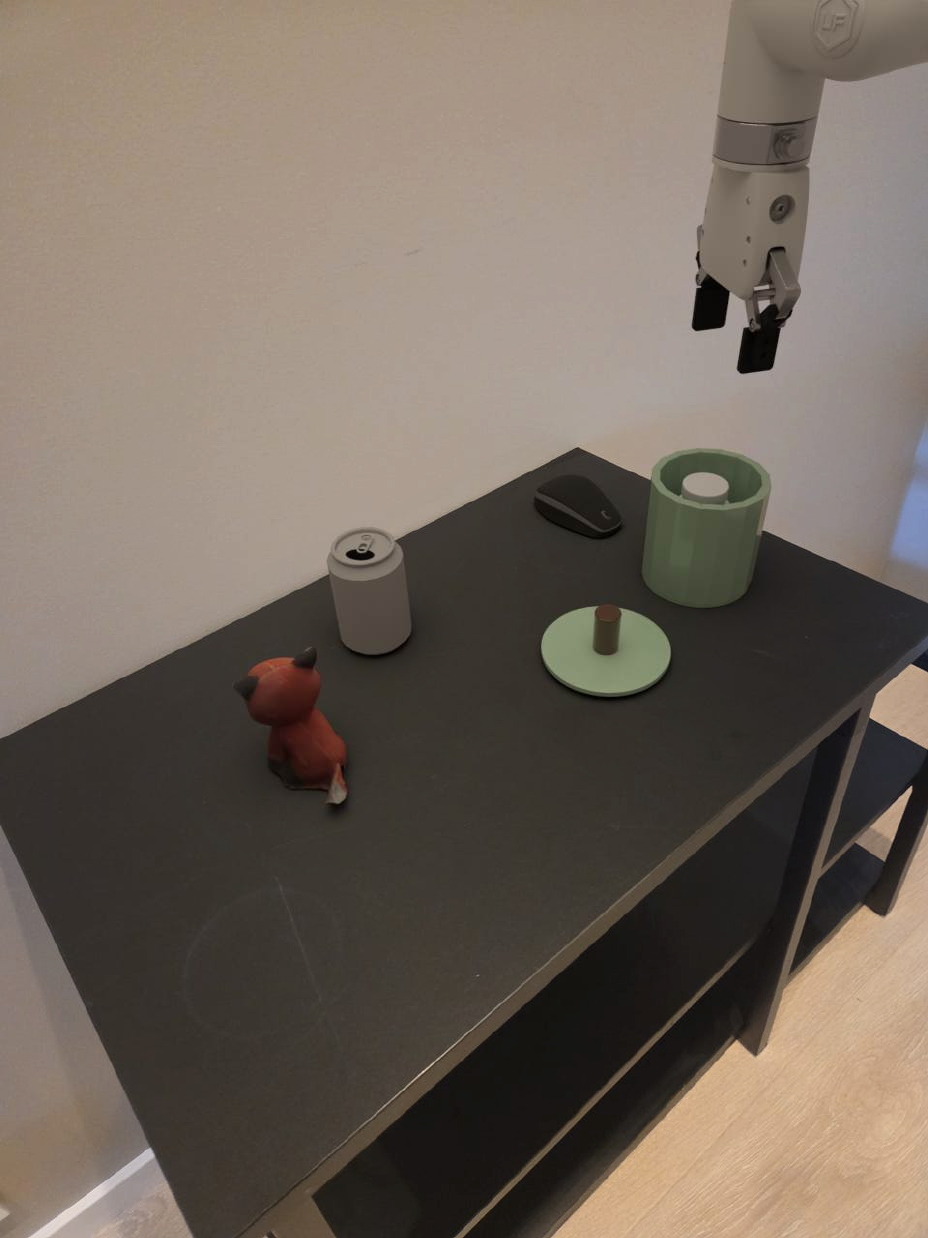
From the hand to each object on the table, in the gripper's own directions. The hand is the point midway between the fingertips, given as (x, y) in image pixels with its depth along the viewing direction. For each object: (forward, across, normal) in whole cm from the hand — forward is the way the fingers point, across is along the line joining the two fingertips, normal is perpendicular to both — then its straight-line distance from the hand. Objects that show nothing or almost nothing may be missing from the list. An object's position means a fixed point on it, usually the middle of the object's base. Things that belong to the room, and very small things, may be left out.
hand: (730, 348), depth 80 cm
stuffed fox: (+26, -18, +44) cm, 54 cm away
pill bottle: (+26, 0, 0) cm, 26 cm away
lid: (+26, -10, +14) cm, 31 cm away
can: (+26, -1, +36) cm, 45 cm away
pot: (+26, 0, 0) cm, 26 cm away
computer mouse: (+26, +15, +9) cm, 32 cm away
